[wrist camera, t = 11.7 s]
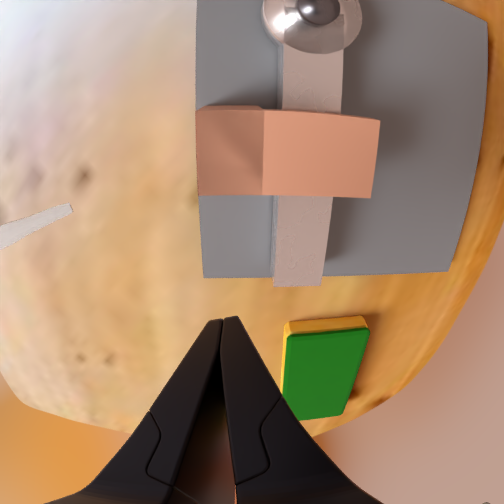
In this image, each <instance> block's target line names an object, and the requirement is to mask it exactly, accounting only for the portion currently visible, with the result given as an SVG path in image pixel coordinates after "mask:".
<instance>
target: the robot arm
mask: <svg viewBox="0 0 504 504" xmlns="http://www.w3.org/2000/svg"><path fill="white" fill-rule="evenodd" d="M149 410H150V411H148V412H147V413H146V415H145V416H144V418H143V419H142V421H141V422H140V424H139V425H138V426H137V428H136V429H135V431H134V432H133V433H132V435H131V437H129V439H128V440H127V441H126V443H125V444H124V445H123V446H122V447H121V449H120V450H119V451H118V452H117V453H116V454H115V456H114V457H113V458H112V459H111V460H110V461H109V463H108V464H107V465H106V466H105V467H104V468H103V470H102V471H101V472H100V473H99V474H98V475H97V476H96V478H95V479H94V480H93V481H92V482H91V483H90V484H89V485H87V486H86V487H85V488H84V489H82V490H81V491H79V492H77V493H75V494H72V495H69V496H66V497H63V498H61V499H57V500H54V501H51V502H48V503H45V504H234V503H235V501H234V500H235V485H236V497H237V504H383V503H382V502H380V501H378V500H377V499H376V498H374V497H372V496H371V495H369V494H368V493H366V492H365V491H364V490H362V489H361V488H359V487H358V486H357V485H356V484H355V483H353V482H352V481H351V480H350V479H349V478H348V477H347V476H346V475H345V474H344V473H343V472H342V471H341V470H340V469H339V468H338V467H337V465H336V464H335V463H334V462H333V461H332V460H331V459H330V458H329V457H328V455H327V454H326V453H325V452H324V451H323V450H322V449H321V448H320V447H319V445H318V444H317V443H316V442H315V441H314V440H313V439H312V437H311V436H310V435H309V434H308V432H307V431H306V430H305V429H304V427H303V426H302V425H301V423H300V422H299V421H298V419H297V418H296V416H295V414H294V413H293V411H292V410H291V408H290V407H289V405H288V403H287V402H286V400H285V398H284V397H283V395H282V393H281V392H280V390H279V388H278V386H277V385H276V383H275V381H274V379H273V378H272V376H271V374H270V372H269V371H268V369H267V367H266V365H265V364H264V362H263V360H262V358H261V357H260V355H259V353H258V351H257V349H256V348H255V346H254V344H253V342H252V340H251V339H250V337H249V335H248V333H247V331H246V330H245V328H244V326H243V324H242V322H241V320H240V319H239V317H238V316H232V317H227V318H224V320H223V319H215V320H210V321H208V322H207V324H206V325H205V327H204V328H203V330H202V331H201V333H200V334H199V336H198V337H197V339H196V340H195V342H194V343H193V345H192V346H191V348H190V349H189V351H188V352H187V354H186V355H185V357H184V358H183V360H182V361H181V363H180V364H179V366H178V367H177V369H176V370H175V372H174V373H173V375H172V376H171V378H170V379H169V381H168V382H167V384H166V385H165V387H164V388H163V390H162V391H161V393H160V394H159V396H158V397H157V399H156V400H155V402H154V403H153V405H152V406H151V408H150V409H149ZM483 504H490V503H487V502H486V503H483Z"/></svg>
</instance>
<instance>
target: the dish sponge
mask: <svg viewBox="0 0 504 504" xmlns="http://www.w3.org/2000/svg"><path fill="white" fill-rule="evenodd" d="M369 335H370V330H369V329H368V326H367V324H366V322H365V319H364V318H363V317H362V316H361V315H360V316H350V317H340V318H329V319H318V320H305V321H291V322H287V323H286V324H285V325H284V338H283V353H282V368H281V382H280V392H281V393H282V395H283V397H284V398H285V400H286V402H287V403H288V405H289V407H290V408H291V410H292V411H293V413H294V414H295V416H296V418H297V419H298V421H301V420H309V419H318V418H325V417H332V416H339V415H341V414H343V411H344V409H345V406H346V404H347V401H348V398H349V395H350V393H351V390H352V387H353V384H354V382H355V379H356V376H357V373H358V370H359V367H360V364H361V361H362V358H363V355H364V352H365V348H366V345H367V342H368V339H369Z"/></svg>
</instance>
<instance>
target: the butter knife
mask: <svg viewBox="0 0 504 504" xmlns="http://www.w3.org/2000/svg"><path fill="white" fill-rule="evenodd" d="M72 212H73V210H72V208H71V205H70V203H66V204H62V205H59V206H55V207H52V208H49V209H47V210H44V211H42V212H39V213H37V214H34V215H32V216H29V217H26V218H23V219H20V220H16V221H12V222H9V223H6V224H3V225H1V226H0V250H1V249H3V248H5V247H7V246H9V245H11V244H13V243H15V242H17V241H19V240H20V239H22V238H23V237H25V236H27V235H29V234H31V233H32V232H34V231H36V230H38V229H40V228H42V227H44V226H47V225H49V224H50V223H52V222H54V221H56V220H58V219H61V218H63V217H65V216H67V215H69V214H71V213H72Z"/></svg>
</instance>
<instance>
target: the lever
mask: <svg viewBox="0 0 504 504" xmlns="http://www.w3.org/2000/svg"><path fill="white" fill-rule="evenodd" d="M260 17H261V24H262V27H263V30H264V32H265V34H266V35H267V37H268V38H269V39H270V41H271V42H272V43H273V44H274V45H276V46H277V47H278V81H277V110H297V111H312V112H324V113H334V114H341V98H342V78H343V49H344V48H345V47H347V46H349V45H350V44H351V43H352V42H353V41H354V40H355V38H356V37H357V35H358V34H359V31H360V29H361V25H362V11H361V7H360V4H359V1H358V0H264V1H263V4H262V8H261V14H260ZM332 201H333V197H327V196H287V195H274V198H273V221H272V242H271V262H270V269H271V275H272V281H273V286H274V287H290V286H321V280H322V274H323V268H324V261H325V254H326V248H327V240H328V233H329V226H330V218H331V210H332Z"/></svg>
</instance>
